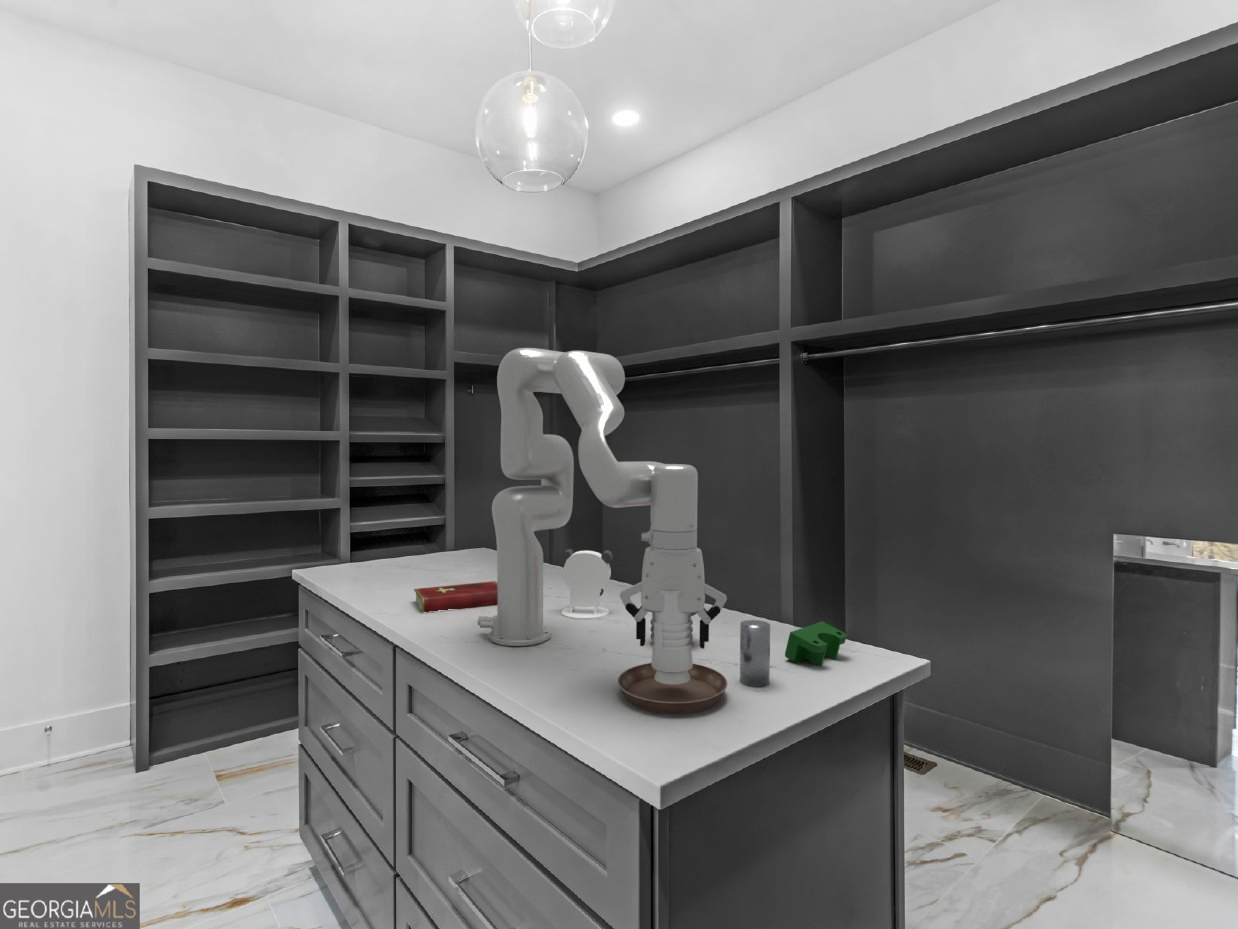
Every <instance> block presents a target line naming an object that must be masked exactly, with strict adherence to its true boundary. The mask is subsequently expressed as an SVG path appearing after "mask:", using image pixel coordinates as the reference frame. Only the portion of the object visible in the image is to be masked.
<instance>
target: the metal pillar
mask: <svg viewBox="0 0 1238 929" xmlns="http://www.w3.org/2000/svg"><path fill="white" fill-rule="evenodd" d="M739 625H740V627H739V628H740V631H739V637H740V639H739V640H740V641H739V642H740V643H739V644H740V646H739V682H740V683H741V684H742V685H743V686H747V687H751V688H763V687H767V686H769V685H770V677H771V676H770V675H771V674H770V673H771V672H770V671H771V670H770V669H771V667H770V666H771V664H770V662H771V660H770V659H771V624H770V623H769V622H767V621H763V620H756V619H747V620H743V621H741V622H740V624H739ZM768 684H769V685H768Z"/></svg>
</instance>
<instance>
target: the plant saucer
mask: <svg viewBox="0 0 1238 929" xmlns="http://www.w3.org/2000/svg"><path fill="white" fill-rule="evenodd" d="M651 665H652V662H647V663H643V664H639V665H635V666H633V667H630V668H628V669H627V670H625V671H623V672H622V673H621V674H620V675H619V676H618V679H617V684H618V686H619V688H620V690H621V691H622V693H623V695H624V696H626V698H627V699H628V700H629V701H630V702H631V703H632V704H634V705H635V706H637V707H639V708H641V709H643V710H647V711H649V712H650V711H651V712H655V713H662V714H672V715H673V714H674V715H675V714H676V715H678V714H679V715H680V714H690V713H691V714H692V713H697V712H700V711H704V710H706V709H707V710H708V709H709V708H710V707H712V706H713V705H715V703H717V702H718V700H720V698H721V697H722V696H723V695H724V693H725V692H726V689H727V688H728V680H727V678H726V677H725V675H723V674H722V673H721V672H719V671H718V670H716V669H713V668H712V667H709V666H705V665H702V664H697V663H693V667H692V668H691V669H690V670H688V673H689V675H690V680H689V681H688V682H686V683H683V684H675V685H671V684H663V683H660V682H657V681H656V680H655V679H654V677H655V674H656V672H657V670H655V669H654V668H653V667H652V666H651Z"/></svg>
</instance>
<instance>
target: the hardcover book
mask: <svg viewBox="0 0 1238 929" xmlns="http://www.w3.org/2000/svg"><path fill="white" fill-rule="evenodd" d="M413 591H414V592H415V603H416V602H417V603H418V604H417V603H416V604H417V605H419V606H420V607H421V608H420V607H419V606H418V607H419V608H420V610H421V609H422V610H421V613H422V612H429V611H438V610H448V609H458V610H466V608H467V609H475V608H476V609H477V608H485V607H493V606H497V580H496V581H494V580H493V581H483V582H471V583H463V584H461V583H459V584H452V585H451V584H449V585H441V586H440V585H439V586H431V587H430V586H429V587H419V588H414V589H413Z"/></svg>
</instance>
